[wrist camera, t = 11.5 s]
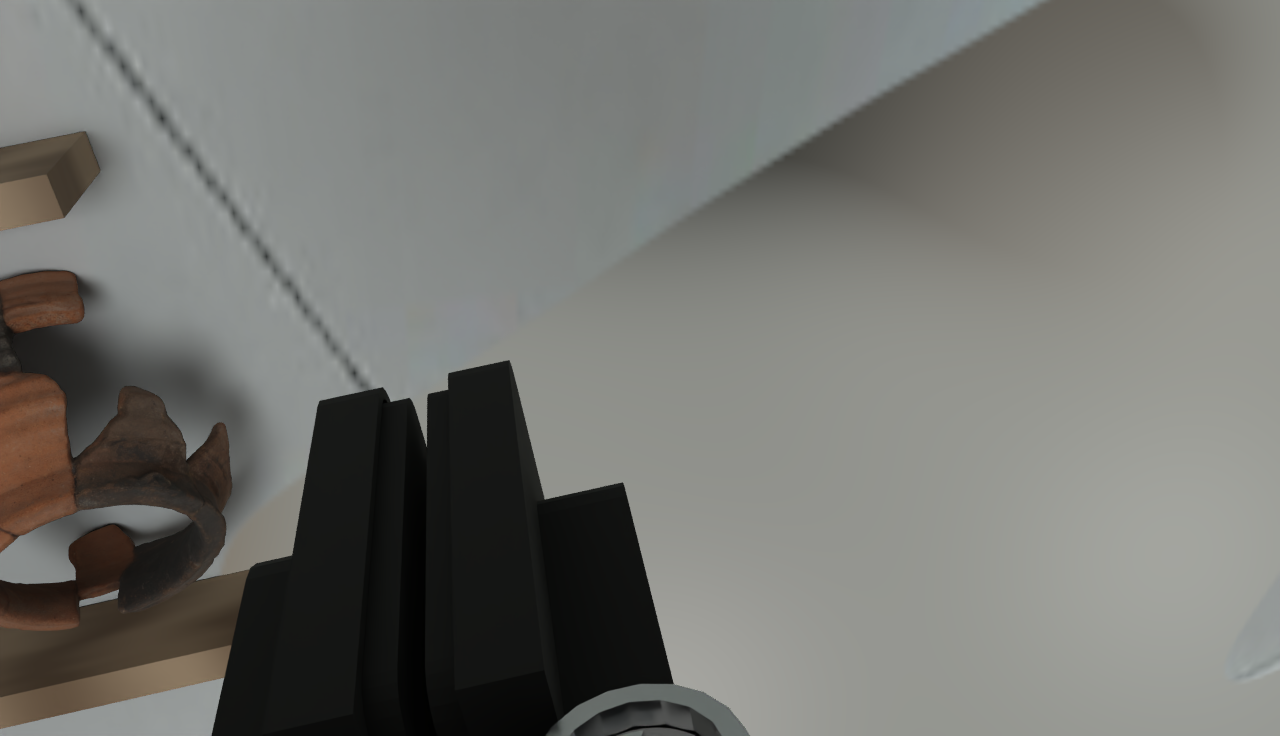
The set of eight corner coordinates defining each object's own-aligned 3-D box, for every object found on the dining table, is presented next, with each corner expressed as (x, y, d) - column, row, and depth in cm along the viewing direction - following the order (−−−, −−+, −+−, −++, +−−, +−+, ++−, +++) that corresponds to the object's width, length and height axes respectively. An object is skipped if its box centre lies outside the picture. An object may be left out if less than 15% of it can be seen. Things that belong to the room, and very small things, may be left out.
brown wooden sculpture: (164, 219, 36) (225, 432, 32) (220, 400, 44) (276, 592, 40) (-295, 322, 33) (-295, 578, 28) (-148, 500, 40) (-130, 725, 36)
